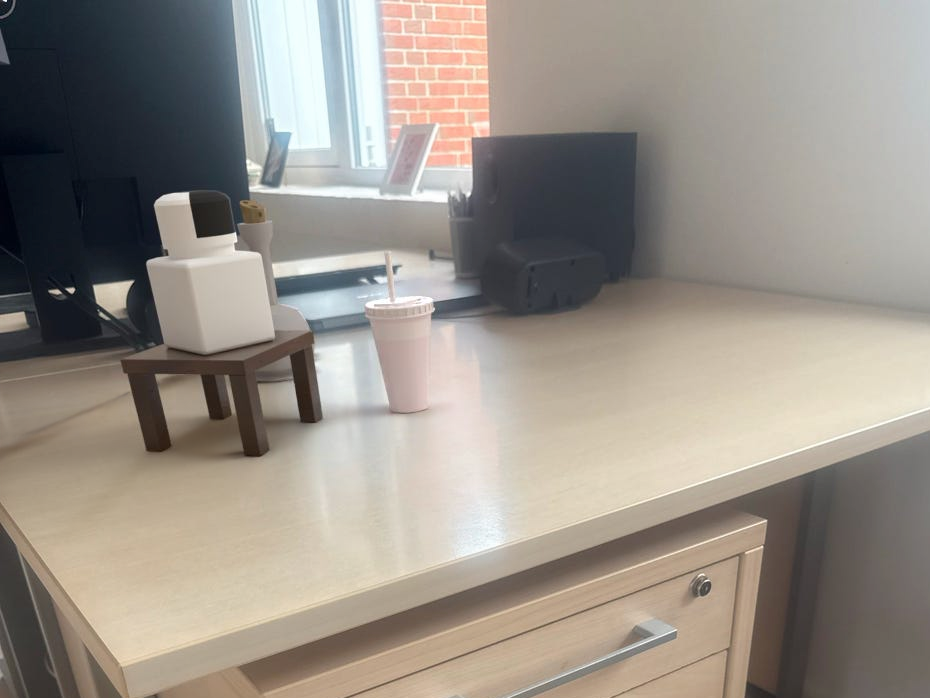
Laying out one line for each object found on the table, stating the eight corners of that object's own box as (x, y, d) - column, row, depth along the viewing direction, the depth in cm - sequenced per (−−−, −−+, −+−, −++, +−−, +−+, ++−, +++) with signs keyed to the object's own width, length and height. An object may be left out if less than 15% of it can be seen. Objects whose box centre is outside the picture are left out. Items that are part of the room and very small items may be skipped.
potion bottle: (281, 363, 109) (254, 197, 100) (334, 369, 104) (310, 195, 95) (225, 379, 103) (190, 205, 94) (278, 387, 98) (247, 203, 89)
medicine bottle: (234, 332, 84) (206, 188, 78) (277, 340, 79) (251, 187, 73) (163, 347, 80) (128, 196, 74) (204, 356, 75) (171, 195, 69)
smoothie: (368, 405, 89) (348, 251, 82) (429, 395, 91) (415, 244, 84) (388, 420, 84) (369, 257, 77) (452, 409, 86) (439, 249, 79)
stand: (142, 451, 80) (119, 359, 76) (218, 413, 90) (200, 330, 86) (261, 457, 76) (243, 360, 73) (326, 417, 86) (313, 330, 82)
